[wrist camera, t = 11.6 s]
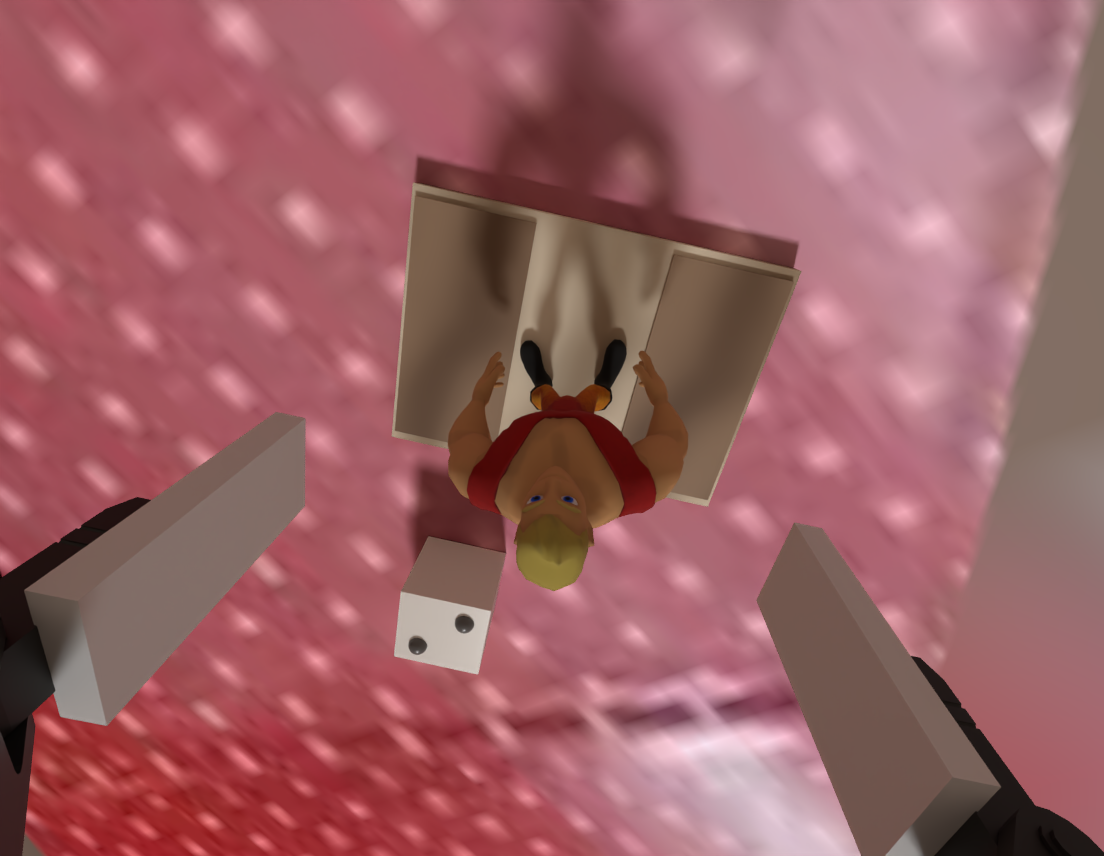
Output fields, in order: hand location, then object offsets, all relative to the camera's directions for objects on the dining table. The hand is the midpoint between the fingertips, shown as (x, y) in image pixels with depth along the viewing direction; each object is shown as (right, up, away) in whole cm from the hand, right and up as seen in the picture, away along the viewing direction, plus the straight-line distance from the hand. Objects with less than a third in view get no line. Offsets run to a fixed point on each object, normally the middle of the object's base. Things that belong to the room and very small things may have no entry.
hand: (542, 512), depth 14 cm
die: (-6, -7, +20) cm, 22 cm away
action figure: (+1, +6, +13) cm, 14 cm away
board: (+2, +6, +13) cm, 15 cm away
